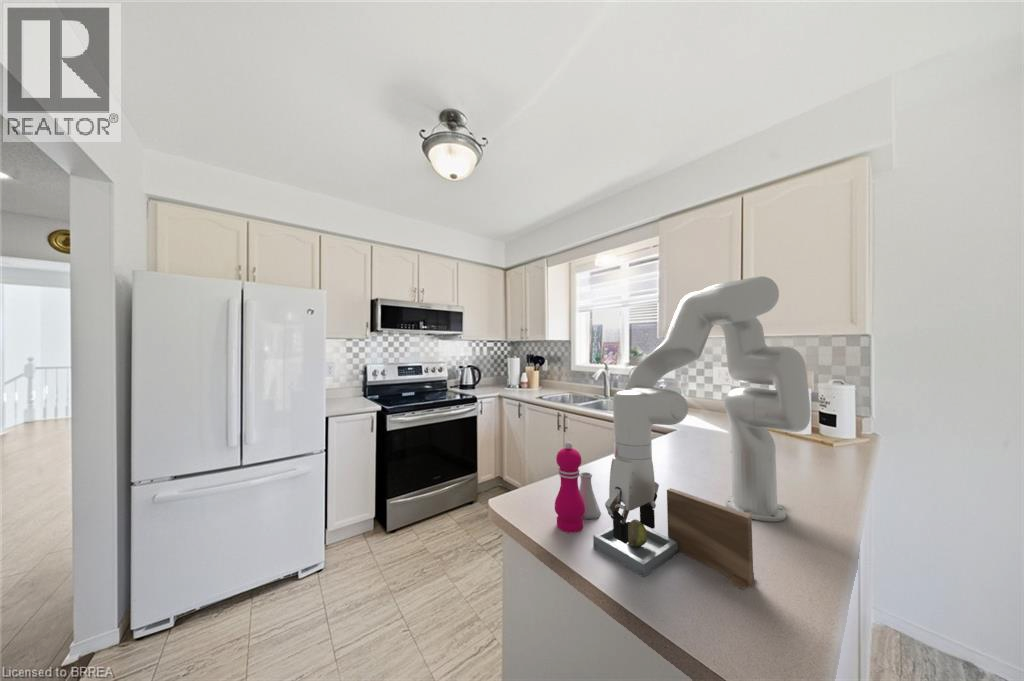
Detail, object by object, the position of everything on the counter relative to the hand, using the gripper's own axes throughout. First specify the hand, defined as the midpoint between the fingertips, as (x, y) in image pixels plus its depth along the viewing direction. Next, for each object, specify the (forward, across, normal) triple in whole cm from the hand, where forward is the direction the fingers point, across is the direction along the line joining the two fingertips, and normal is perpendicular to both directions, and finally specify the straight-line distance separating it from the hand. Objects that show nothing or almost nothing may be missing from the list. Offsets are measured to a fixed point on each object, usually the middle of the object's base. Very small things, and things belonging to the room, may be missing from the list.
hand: (634, 532), depth 70 cm
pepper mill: (+4, +4, -15) cm, 16 cm away
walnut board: (+4, -8, +11) cm, 14 cm away
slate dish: (+4, 0, 0) cm, 4 cm away
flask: (+4, -4, -17) cm, 18 cm away
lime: (+3, 0, 0) cm, 3 cm away
